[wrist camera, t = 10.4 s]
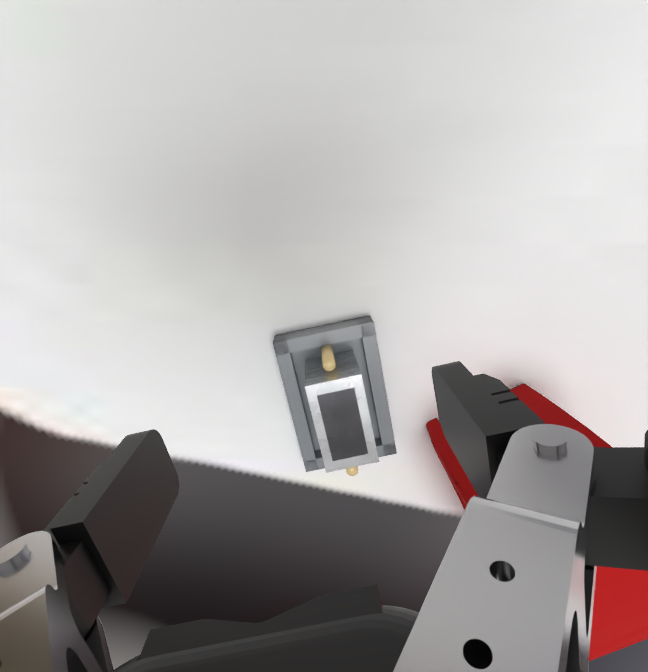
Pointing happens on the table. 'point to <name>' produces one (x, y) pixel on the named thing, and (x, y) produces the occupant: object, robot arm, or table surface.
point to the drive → (340, 412)
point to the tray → (326, 343)
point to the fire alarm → (611, 583)
